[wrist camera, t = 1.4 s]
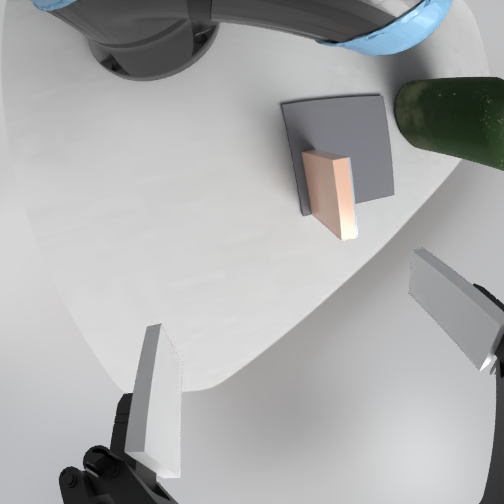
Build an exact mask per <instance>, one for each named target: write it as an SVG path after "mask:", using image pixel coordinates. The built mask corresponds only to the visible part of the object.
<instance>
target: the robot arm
mask: <svg viewBox="0 0 504 504" xmlns="http://www.w3.org/2000/svg"><path fill="white" fill-rule="evenodd" d="M31 1H32V2H33V3H34V6H35V7H36V8H38V9H39V10H44V11H47V12H49V13H51V14H52V15H54V16H56V17H58V18H59V19H61V20H63V21H64V22H66V23H67V24H69V25H71V26H72V27H74V28H75V29H77V30H78V31H80V32H81V33H83V34H84V35H86V36H87V37H89V42H90V46H91V49H92V52H93V54H94V56H95V58H96V59H97V61H98V62H99V63H100V64H101V65H102V66H103V67H104V68H105V69H107V70H108V71H110V72H111V73H113V74H115V75H117V76H119V77H121V78H124V79H128V80H133V81H152V80H158V79H162V78H166V77H169V76H172V75H174V74H177V73H179V72H181V71H183V70H185V69H186V68H188V67H189V66H191V65H192V64H194V63H195V62H196V61H198V60H199V59H200V58H201V57H202V56H203V55H204V54H205V53H206V52H207V50H208V49H209V48H210V46H211V45H212V43H213V42H214V40H215V38H216V35H217V33H218V29H219V24H220V22H226V23H235V24H242V25H249V26H255V27H261V28H266V29H271V30H276V31H281V32H285V33H290V34H294V35H298V36H302V37H305V38H309V39H313V40H315V41H316V42H318V43H320V44H323V45H326V46H339V47H343V48H346V49H349V50H353V51H356V52H359V53H362V54H366V55H373V56H378V55H389V54H395V53H398V52H401V51H404V50H407V49H409V48H411V47H413V46H415V45H416V44H418V43H420V42H421V41H422V40H424V39H425V38H426V37H427V36H429V35H430V34H431V33H432V32H433V31H434V30H435V29H436V28H437V27H438V26H439V25H440V23H441V22H442V21H443V19H444V18H445V16H446V15H447V13H448V11H449V8H450V6H451V3H452V0H31ZM408 293H409V294H410V295H411V296H412V297H413V298H414V299H415V300H416V301H417V302H418V303H419V304H420V305H421V307H422V308H423V309H424V310H425V311H426V312H427V313H428V314H429V315H430V316H431V317H432V318H433V319H434V320H435V321H436V322H437V323H438V324H439V325H440V327H441V328H442V329H444V331H445V332H446V333H447V334H448V335H449V336H450V338H451V339H452V340H453V341H454V342H455V343H456V344H457V345H458V346H459V348H460V349H461V350H462V351H463V352H464V353H465V354H466V356H467V357H468V358H469V359H470V360H471V362H472V363H473V364H474V365H475V366H476V368H477V369H478V370H479V371H480V370H482V369H483V368H484V367H486V366H487V365H488V364H489V363H490V362H491V360H492V358H493V356H494V354H495V355H496V356H497V360H496V361H495V363H494V365H493V367H492V369H491V371H490V374H492V373H493V371H494V370H495V368H496V372H495V375H496V419H495V432H494V441H493V449H492V456H491V463H490V468H489V473H488V478H487V483H486V487H485V491H484V495H483V498H482V500H481V502H480V503H479V504H504V304H503V303H501V302H500V301H499V300H498V299H496V298H495V297H494V296H493V295H492V294H490V292H488V291H487V290H486V289H485V288H484V287H482V286H479V285H477V284H473V285H472V284H471V283H469V282H468V281H467V280H466V279H464V278H463V277H462V276H461V275H459V274H458V273H457V272H456V271H454V270H453V269H452V268H450V267H449V266H448V265H446V264H445V263H444V262H442V261H441V260H439V259H438V258H437V257H436V256H434V255H433V254H432V253H430V252H429V251H427V250H426V249H424V248H423V247H421V248H419V249H416V250H413V251H412V258H411V272H410V283H409V292H408ZM182 367H183V361H182V360H181V358H180V356H179V354H178V353H177V351H176V349H175V347H174V346H173V344H172V342H171V340H170V339H169V337H168V335H167V333H166V331H165V330H164V328H163V326H162V324H157V325H153V326H148V327H147V329H146V334H145V338H144V342H143V347H142V351H141V356H140V361H139V365H138V370H137V375H136V381H135V386H134V391H133V393H128V394H123V396H122V398H121V400H120V401H119V403H118V406H117V411H116V416H115V421H114V422H115V424H114V427H113V433H112V438H111V445H110V450H109V449H108V448H107V447H104V446H102V445H99V446H94V447H91V448H90V449H89V450H88V451H87V452H86V453H85V456H84V458H83V466H84V469H85V471H80V470H79V469H77V468H75V467H72V466H71V467H67V468H65V469H63V471H62V472H61V474H60V476H59V485H60V490H61V494H62V498H63V502H64V504H178V503H177V502H176V501H175V500H174V499H173V498H172V497H171V496H170V495H169V494H168V492H167V491H166V490H165V489H164V488H163V487H162V486H161V485H160V484H159V483H158V482H157V481H156V474H158V475H159V476H161V477H162V478H179V477H181V466H180V465H181V464H180V463H181V462H180V427H181V426H180V425H181V424H180V423H181V388H182Z"/></svg>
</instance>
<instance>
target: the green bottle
mask: <svg viewBox="0 0 504 504" xmlns="http://www.w3.org/2000/svg"><path fill="white" fill-rule="evenodd" d="M396 118H397V121H398V124H399V127H400V130H401V132H402V134H403V136H404V137H405V138H406V139H407V140H408V142H409V143H410V144H411V145H413V146H414V147H416V148H420V149H423V150H428V151H433V152H437V153H442V154H446V155H450V156H454V157H458V158H462V159H466V160H469V161H473V162H477V163H480V164H483V165H487V166H490V167H493V168H496V169H500V170H503V171H504V80H503V79H501V78H498V77H456V78H439V79H428V80H418V81H412V82H409V83H406V84H405V85H404V86H403V87H402V89H401V90H400V92H399V93H398V96H397V99H396Z"/></svg>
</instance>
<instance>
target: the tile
mask: <svg viewBox="0 0 504 504" xmlns="http://www.w3.org/2000/svg"><path fill="white" fill-rule="evenodd" d="M302 158H303V163H304V169H305V175H306V181H307V187H308V193H309V199H310V206H311V213H312V215H313V216H314V217H315V218H317V219H318V220H319V221H320V222H321V223H322V224H323V225H325V226H326V227H327V228H328V229H329V230H330V231H331V232H332V233H333V234H335V235H336V236H337V237H338V238H339V239H340V240H341V241H344V240H348V239H351V238H355V237H358V233H357V219H356V206H355V196H354V186H353V177H352V169H351V161H350V157H347V156H343V155H339V154H334V153H330V152H325V151H321V150H316V149H315V150H309V151H304V152H302Z"/></svg>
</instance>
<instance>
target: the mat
mask: <svg viewBox="0 0 504 504" xmlns="http://www.w3.org/2000/svg"><path fill="white" fill-rule="evenodd" d="M282 110H283V115H284V119H285V124H286V129H287V133H288V138H289V143H290V148H291V153H292V159H293V164H294V169H295V175H296V180H297V186H298V192H299V197H300V203H301V210H302V215H303V216H307V215H311V214H312V213H311V206H310V199H309V193H308V187H307V181H306V175H305V169H304V163H303V158H302V152H304V151H309V150H315V149H316V150H321V151H325V152H330V153H334V154H339V155H343V156H347V157H350V161H351V169H352V177H353V186H354V196H355V204H357V203H361V202H366V201H370V200H374V199H379V198H383V197H388V196H392V195H394V181H393V167H392V156H391V147H390V138H389V131H388V124H387V117H386V111H385V105H384V99H383V96H362V97H345V98H333V99H322V100H313V101H305V102H297V103H290V104H284V105H282Z"/></svg>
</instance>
